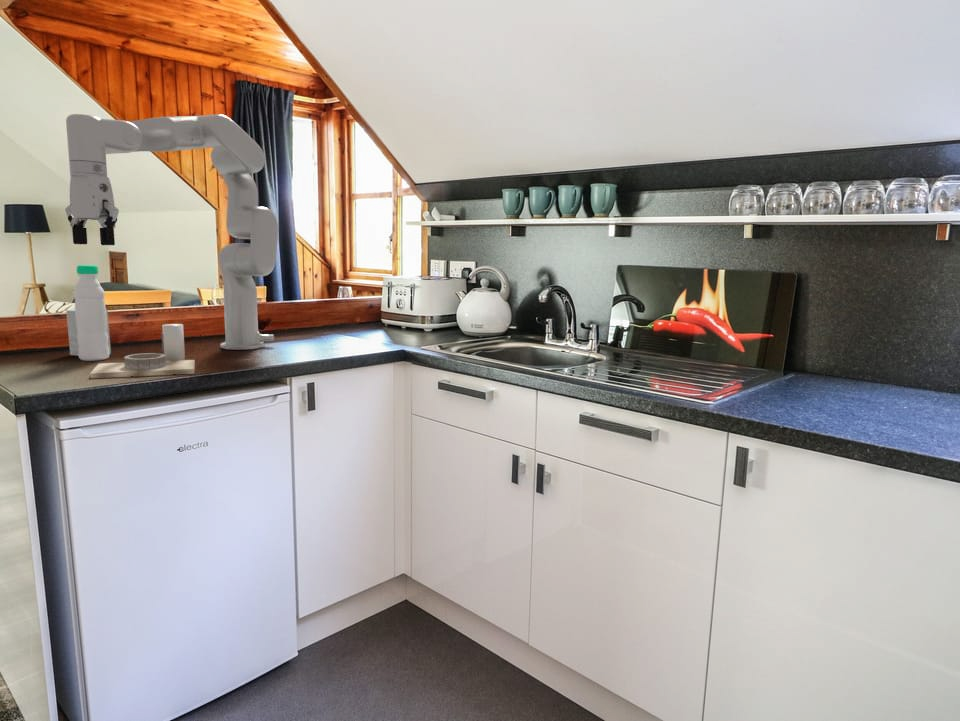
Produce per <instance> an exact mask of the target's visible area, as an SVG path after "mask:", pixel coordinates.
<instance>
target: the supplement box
mask: <svg viewBox="0 0 960 721" xmlns="http://www.w3.org/2000/svg"><path fill="white" fill-rule="evenodd" d="M65 313H66V323H67V333H68V344H69V345H68V346H69V355H70V356H75V357H76V356H78V357H79V353H78V349H79V345H78V340H77V335H78V331H77V325H76V316H75V308H74V309H67V310H66V311H65ZM106 320H107V330H106V332H107V335H108V348H109V355H111V354H112V348H111V339H110V338H111V335H110V326H109V323H110V322H109V313H108V309H106Z"/></svg>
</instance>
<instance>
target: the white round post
mask: <svg viewBox="0 0 960 721" xmlns="http://www.w3.org/2000/svg"><path fill="white" fill-rule="evenodd" d="M161 328H162V332H161V350H162V352H161V353H162V354H165V355H166V361H177V360H186V357H185V356H186V354H185V353H186V352H185V338H184V337H185V335H184V324H182V323H167V324H166V323H165V324H161Z"/></svg>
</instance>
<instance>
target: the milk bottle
mask: <svg viewBox="0 0 960 721" xmlns="http://www.w3.org/2000/svg"><path fill="white" fill-rule="evenodd" d="M76 273H77V276H78V277H79V279H78V281H77V283H76V286H75V288H74V290H73V296H74V309H75V316H76V325H77V331H78V335H77V340H78V345H79V349H78V353H79V356H78V359H80V360H81V361H85V362H91V361H92V362H93V361H95V362H97V361H103V360H107V359H108V358H109V357H110V354H109V348H108V335H107V332H106V330H107V320H106V302H105V296H106V293H105V290H104V288H103V287H102V286H101V284H100V282H99V280H98V278H97V276H98V274H99V269H98V266H97V265H93V264H79V265H77V266H76Z"/></svg>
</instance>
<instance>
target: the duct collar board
mask: <svg viewBox="0 0 960 721" xmlns="http://www.w3.org/2000/svg"><path fill="white" fill-rule="evenodd" d="M195 368H196V361H195V359H185V360H177V361H166V355H165V354H163V353H159V352H155V353H154V352H149V353H148V352H147V353H146V352H145V353H143V352H142V353H133V354H132V353H131V354H128V355H125V356H124V357H123V362H107V363H106V362H104V363H98V364H97V365H96V366H95V367H94V368H93V369H92V370H91V372H90V373H89V375H90V376H89V377H90V378H89V379H107V378H128V377H131V376H133V377H150V376H171V375H172V376H173V374H176V375H193V374H195Z"/></svg>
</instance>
